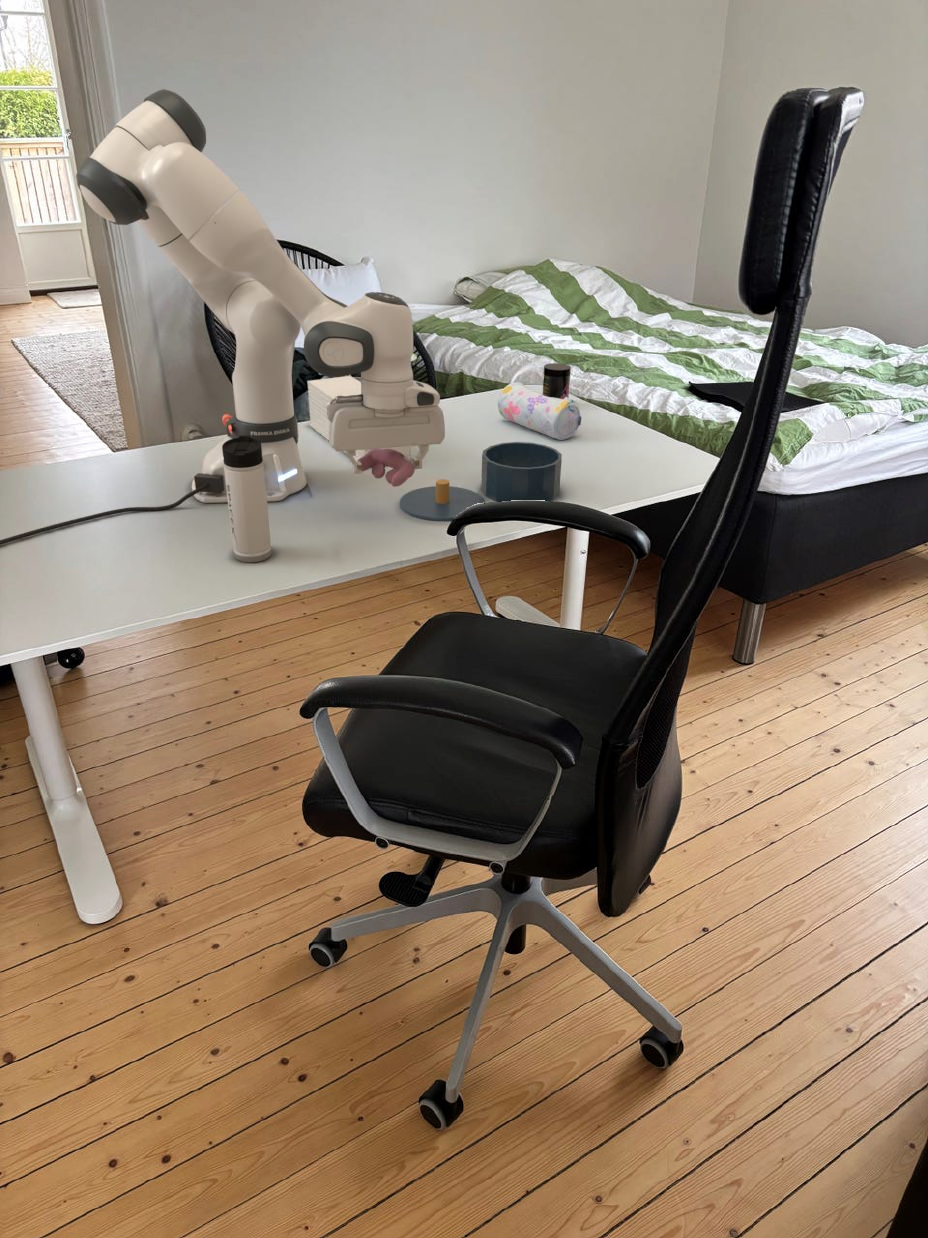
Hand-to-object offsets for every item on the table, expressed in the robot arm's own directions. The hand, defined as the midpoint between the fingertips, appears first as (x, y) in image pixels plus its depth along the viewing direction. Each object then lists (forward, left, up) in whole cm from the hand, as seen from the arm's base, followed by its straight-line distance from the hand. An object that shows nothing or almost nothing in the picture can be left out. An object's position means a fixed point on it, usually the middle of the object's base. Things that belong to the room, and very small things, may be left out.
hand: (387, 470), depth 165 cm
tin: (+29, +9, -11) cm, 32 cm away
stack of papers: (+4, +47, -11) cm, 48 cm away
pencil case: (+47, +46, -11) cm, 66 cm away
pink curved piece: (-1, 0, -2) cm, 2 cm away
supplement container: (+58, +62, -11) cm, 85 cm away
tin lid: (+12, +6, -10) cm, 16 cm away
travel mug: (-25, -6, -11) cm, 28 cm away
